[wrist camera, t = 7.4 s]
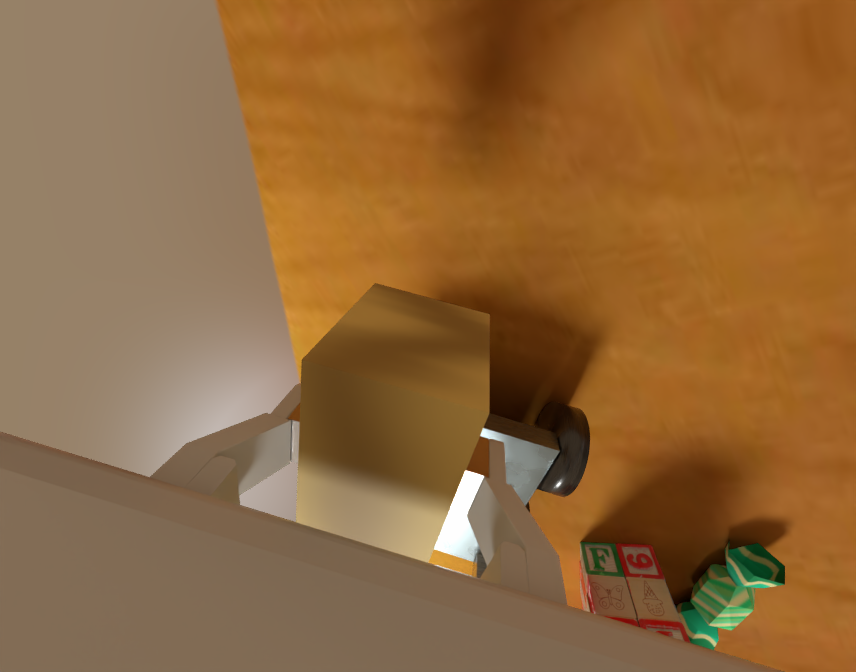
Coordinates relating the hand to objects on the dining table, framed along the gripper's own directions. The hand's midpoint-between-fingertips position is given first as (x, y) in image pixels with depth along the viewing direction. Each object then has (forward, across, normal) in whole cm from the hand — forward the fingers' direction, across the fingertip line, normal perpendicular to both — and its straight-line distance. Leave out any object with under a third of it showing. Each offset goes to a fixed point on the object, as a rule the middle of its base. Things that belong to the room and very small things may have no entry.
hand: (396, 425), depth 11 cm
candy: (+13, -31, +20) cm, 39 cm away
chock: (+2, 0, 0) cm, 2 cm away
